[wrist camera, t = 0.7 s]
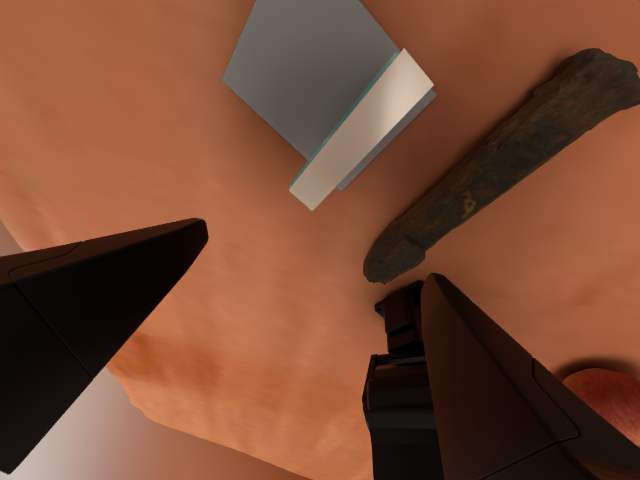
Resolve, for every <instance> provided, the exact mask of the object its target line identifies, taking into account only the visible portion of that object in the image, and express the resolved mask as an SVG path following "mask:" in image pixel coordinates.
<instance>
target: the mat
mask: <svg viewBox="0 0 640 480" xmlns="http://www.w3.org/2000/svg"><path fill="white" fill-rule="evenodd" d="M395 52H397V53H398V54H400V52H401V50H400V49H399V48H398V47H397V46H396V44H395V43H394V42H393V41H392V40H391V38H390V37H389V36H388V35H387V33H386V32H385V31H384V30H383V29H382V27H381V26H380V25H379V24H378V22H377V21H376V20H375V19H374V18H373V16H372V15H371V14H370V13H369V12H368V10H367V9H366V8H365V7H364V5H363V4H362V3H361V2H360V1H359V0H256V1H255V3H254V6H253V8H252V10H251V13H250V15H249V17H248V20H247V22H246V24H245V27H244V29H243V31H242V34H241V36H240V38H239V40H238V43H237V45H236V47H235V50H234V52H233V54H232V57H231V59H230V61H229V64H228V66H227V68H226V71H225V73H224V75H223V78H222V80H221V81H222V82H223V83H224V84H225V85H227V86H228V87H229V88H230V89H231V90H232V91H233V92H234V93H235V94H236V95H237V96H238V97H240V98H241V99H242V100H243V101H244V102H245V103H246V104H247V105H248V106H249V107H250V108H251V109H253V110H254V111H255V112H256V113H257V114H258V115H259V116H260V117H261V118H262V119H263V120H264V121H266V122H267V123H268V124H269V125H270V126H271V127H272V128H273V129H274V130H275V131H276V132H277V133H279V134H280V135H281V136H282V137H283V138H284V139H285V140H286V141H287V142H288V143H289V144H290V145H292V146H293V147H294V148H295V149H296V150H297V151H298V152H299V153H300V154H301V155H302V156H303V157H305V158H306V159H307V160H309V159H310V158H311V156H312V155H313V154H314V153H315V151H316V150H317V149H318V148H319V146H320V145H321V144H322V143H323V141H324V140H325V139H326V138H327V136H328V135H329V134H330V133H331V131H332V130H333V129H334V128H335V126H336V125H337V124H338V123H339V122H340V120H341V119H342V118H343V117H344V115H345V114H346V113H347V112H348V110H349V109H350V108H351V107H352V105H353V104H354V103H355V102H356V100H357V99H358V98H359V97H360V95H361V94H362V93H363V92H364V90H365V89H366V88H367V87H368V85H369V84H370V83H371V82H372V80H373V79H374V78H375V77H376V75H377V74H378V73H379V72H380V70H381V69H382V68H383V67H384V65H385V64H386V63H387V62H388V60H389V59H390V58H391V57H392V55H393V54H394V53H395ZM436 96H437V94H436V93H435V92H434V91H433V89H432V88H431V89H430V90H429V91H428V92H427V93H426V94H425V95H424V96H423V97H422V98H421V99H420V100H419V101H418V102H417V103H416V104H415V105H414V106H413V107H412V108H411V109H410V110H409V111H408V112H407V113H406V115H405V116H404V117H403V118H402V119H401V120H400V121H399V122H398V123H397V124H396V125H395V126H394V127H393V128H392V129H391V130H390V131H389V132H388V133H387V134H386V135H385V136H384V137H383V138H382V139H381V140H380V141H379V143H378V144H377V145H376V146H375V147H374V148H373V149H372V150H371V151H370V152H369V153H368V154H367V155H366V156H365V157H364V158H363V159H362V160H361V161H360V162H359V163H358V164H357V165H356V166H355V167H354V168H353V170H352V171H351V172H350V173H349V174H348V175H347V176H346V177H345V178H344V179H343V180H342V181H341V182H340V183H339V184H338V185H337V186H336V187H337V188H338V189H339V190H340V191H342V190H343V189H344V188H345V187H346V186H347V185H348V184H349V183H350V182H351V181H352V180H353V179H354V178H355V177H356V176H357V175H358V174H359V173H360V172H361V171H362V170H363V169H364V168H365V167H366V166H367V165H368V164H369V163H370V162H371V161H372V160H373V159H374V158H375V157H376V156H377V155H378V154H379V153H380V152H381V151H382V150H383V149H384V148H385V147H386V146H387V145H388V144H389V143H390V142H391V141H392V140H393V139H394V138H395V137H396V136H397V135H398V134H399V133H400V132H401V131H402V130H403V129H404V128H405V127H406V126H407V125H408V124H409V123H410V122H411V121H412V120H413V119H414V118H415V117H416V116H417V115H418V114H419V113H420V112H421V111H422V110H423V109H424V108H425V107H426V106H427V105H428V104H429V103H430V102H431V101H432V100H433V99H434V98H435V97H436Z"/></svg>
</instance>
